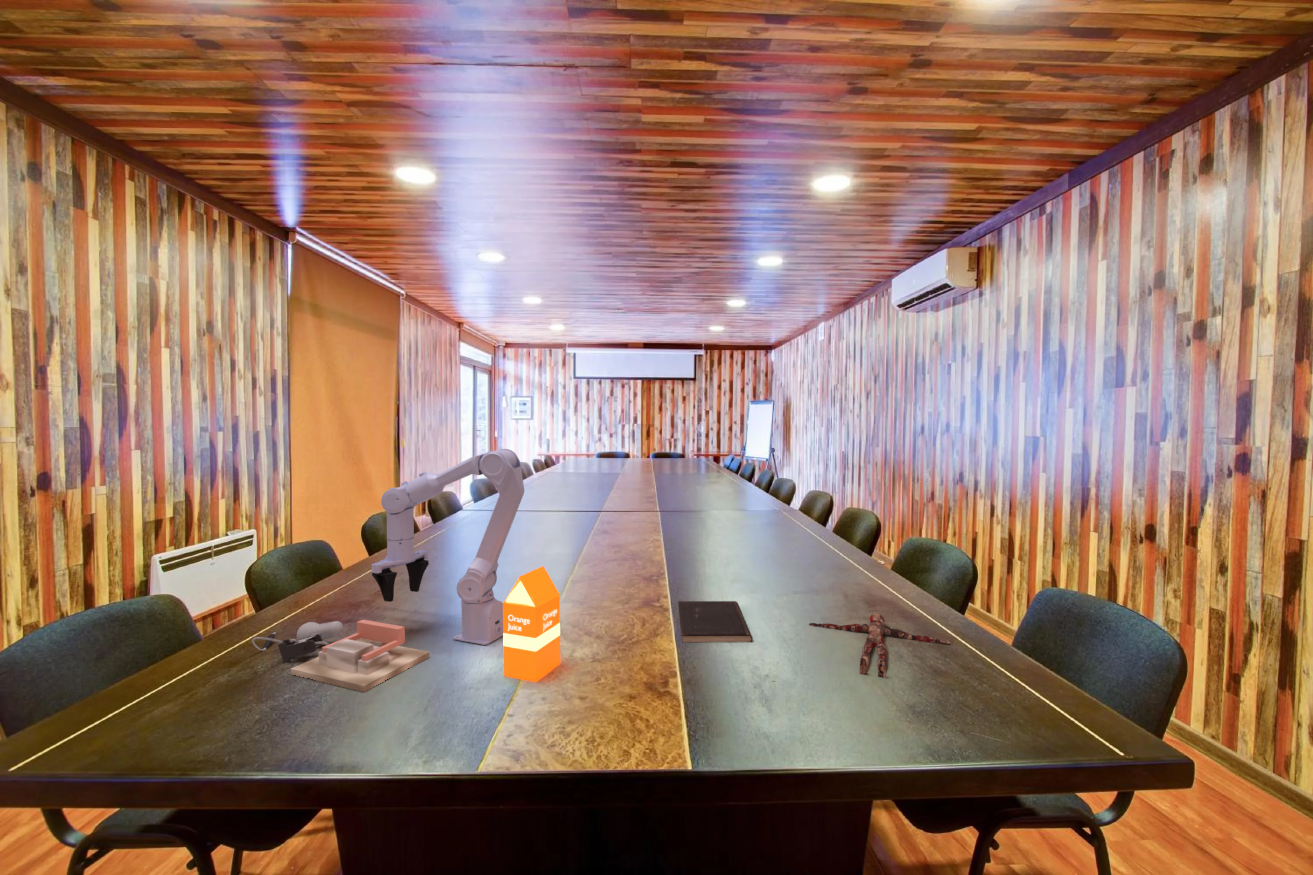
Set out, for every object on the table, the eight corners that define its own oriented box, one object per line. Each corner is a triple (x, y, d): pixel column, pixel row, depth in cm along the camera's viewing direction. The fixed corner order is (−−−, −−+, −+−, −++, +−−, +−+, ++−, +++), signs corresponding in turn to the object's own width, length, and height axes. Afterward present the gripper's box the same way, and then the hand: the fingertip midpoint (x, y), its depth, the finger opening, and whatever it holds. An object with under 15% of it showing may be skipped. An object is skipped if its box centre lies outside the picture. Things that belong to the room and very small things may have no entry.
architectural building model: (361, 643, 123) (360, 621, 123) (429, 657, 115) (429, 633, 115) (290, 674, 108) (290, 648, 108) (364, 692, 101) (363, 664, 100)
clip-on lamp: (241, 673, 116) (313, 660, 113) (232, 645, 115) (304, 631, 112) (286, 645, 127) (352, 632, 124) (277, 620, 127) (344, 606, 124)
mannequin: (772, 640, 125) (772, 622, 125) (847, 612, 142) (847, 596, 141) (877, 686, 103) (878, 663, 103) (951, 647, 120) (951, 627, 120)
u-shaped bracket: (363, 634, 119) (363, 619, 119) (404, 642, 114) (404, 626, 114) (322, 652, 110) (321, 635, 110) (365, 661, 105) (365, 644, 105)
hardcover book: (681, 644, 122) (681, 634, 122) (678, 609, 145) (678, 601, 145) (752, 644, 122) (752, 634, 122) (738, 609, 145) (738, 600, 145)
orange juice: (503, 675, 107) (501, 575, 106) (529, 657, 115) (528, 563, 114) (536, 682, 104) (535, 578, 103) (561, 663, 112) (560, 567, 111)
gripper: (412, 531, 135) (413, 585, 135) (361, 543, 122) (362, 603, 122) (434, 533, 132) (435, 588, 133) (384, 545, 119) (385, 607, 119)
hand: (401, 595), depth 127 cm, fingers open, 7 cm apart
